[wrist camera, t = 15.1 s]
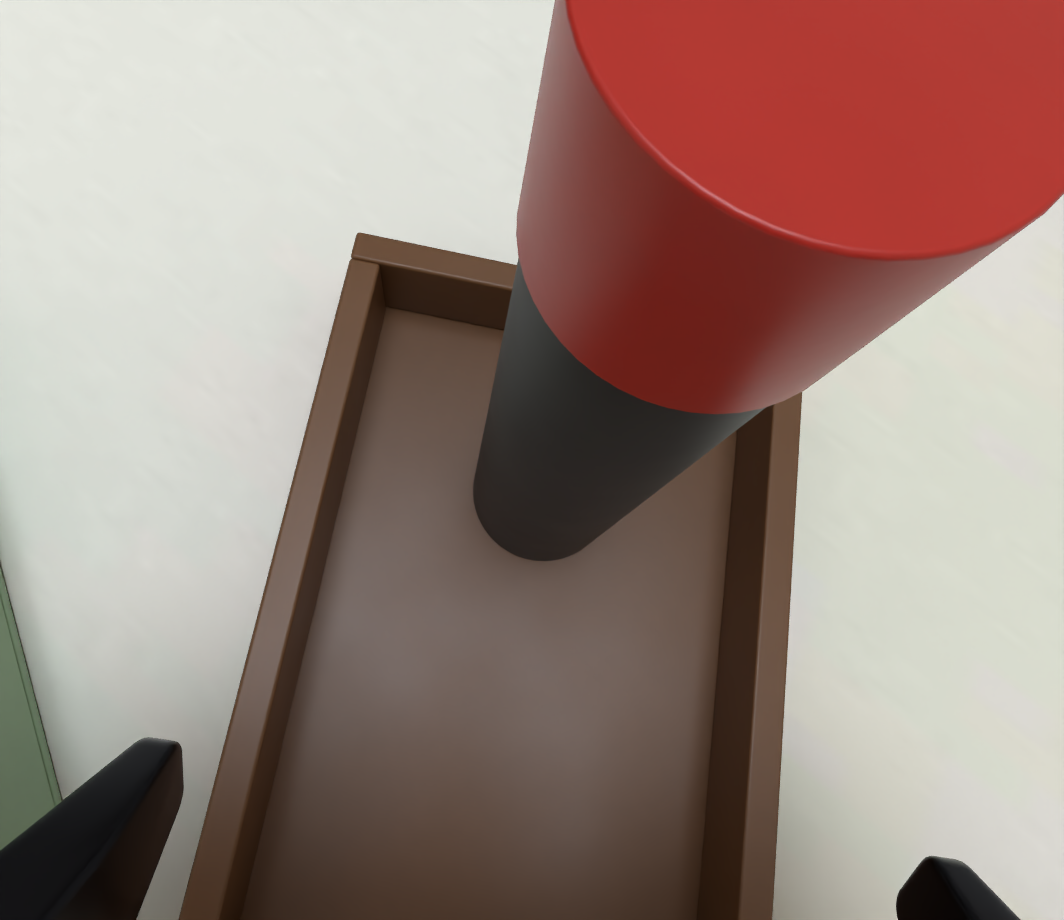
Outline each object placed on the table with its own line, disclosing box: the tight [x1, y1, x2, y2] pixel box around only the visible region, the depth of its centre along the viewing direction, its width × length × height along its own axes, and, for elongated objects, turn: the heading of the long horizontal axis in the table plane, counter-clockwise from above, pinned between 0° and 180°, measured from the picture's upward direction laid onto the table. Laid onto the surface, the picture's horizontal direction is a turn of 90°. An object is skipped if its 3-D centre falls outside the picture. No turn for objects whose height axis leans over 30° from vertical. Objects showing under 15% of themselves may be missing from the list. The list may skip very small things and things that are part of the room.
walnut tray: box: [179, 233, 802, 920], centre depth 16 cm, size 15×11×2 cm
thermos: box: [473, 0, 1064, 561], centre depth 11 cm, size 4×4×14 cm
